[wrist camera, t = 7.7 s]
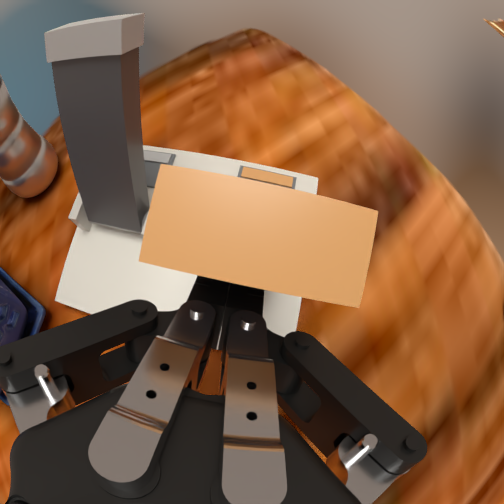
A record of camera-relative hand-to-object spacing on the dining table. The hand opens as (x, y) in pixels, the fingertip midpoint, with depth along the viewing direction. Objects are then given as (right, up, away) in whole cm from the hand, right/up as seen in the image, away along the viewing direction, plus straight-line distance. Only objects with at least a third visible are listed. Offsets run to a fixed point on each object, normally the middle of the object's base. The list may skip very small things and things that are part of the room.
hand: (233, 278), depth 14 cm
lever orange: (+1, +2, +8) cm, 9 cm away
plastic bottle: (-23, +9, +13) cm, 28 cm away
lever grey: (-10, +4, +8) cm, 13 cm away
